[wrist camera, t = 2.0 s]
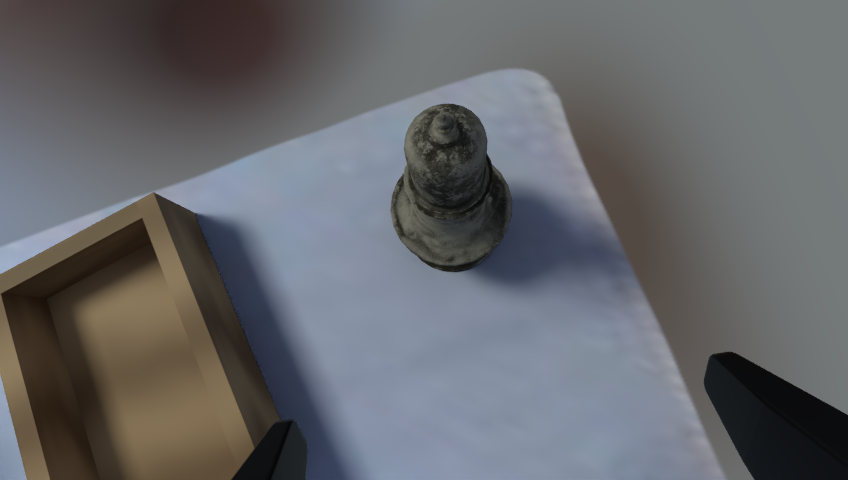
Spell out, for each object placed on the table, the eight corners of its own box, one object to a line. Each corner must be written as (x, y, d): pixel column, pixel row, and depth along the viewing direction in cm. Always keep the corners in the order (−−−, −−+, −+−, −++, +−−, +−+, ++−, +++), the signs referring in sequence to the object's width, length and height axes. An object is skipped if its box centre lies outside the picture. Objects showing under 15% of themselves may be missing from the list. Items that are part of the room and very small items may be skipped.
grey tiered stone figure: (382, 249, 24) (309, 162, 13) (428, 161, 25) (400, 6, 14) (478, 295, 23) (493, 245, 12) (522, 201, 24) (576, 69, 13)
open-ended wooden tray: (302, 472, 22) (273, 495, 18) (125, 574, 21) (61, 617, 18) (193, 212, 26) (153, 192, 23) (42, 294, 25) (-22, 286, 22)
